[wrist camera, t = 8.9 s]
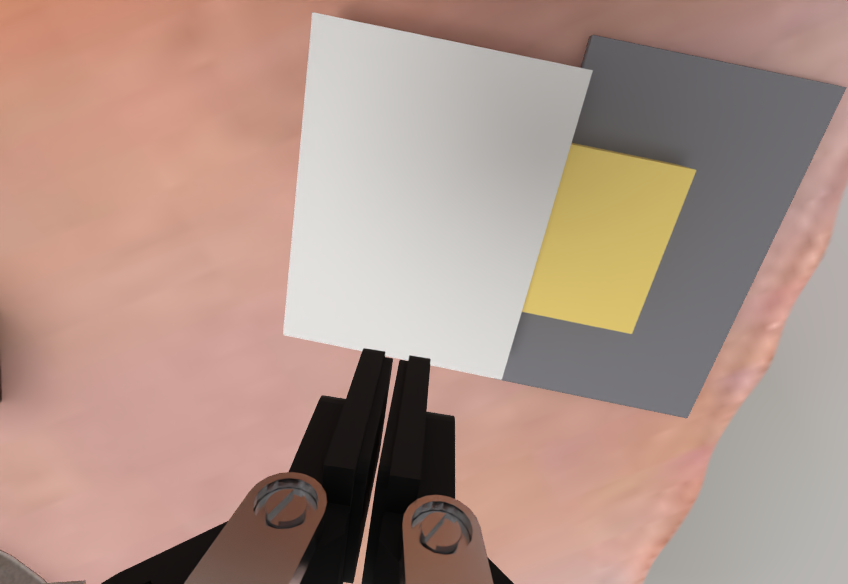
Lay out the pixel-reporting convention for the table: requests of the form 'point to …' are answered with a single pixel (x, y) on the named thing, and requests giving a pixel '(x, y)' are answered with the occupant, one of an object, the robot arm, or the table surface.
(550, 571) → the table surface
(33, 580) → the pitcher
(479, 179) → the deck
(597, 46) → the mat
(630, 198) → the tile
